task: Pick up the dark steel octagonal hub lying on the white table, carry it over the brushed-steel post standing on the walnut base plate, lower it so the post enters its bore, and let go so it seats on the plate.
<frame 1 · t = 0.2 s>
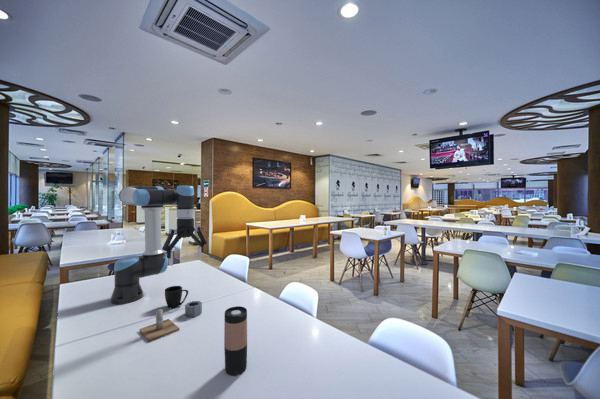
hand: (185, 262, 120), 27 cm above the table, fingers open, 13 cm apart
shaft stand: (159, 330, 109), on the table
hub: (193, 314, 125), on the table
mug: (177, 306, 133), on the table
travel mug: (236, 369, 86), on the table
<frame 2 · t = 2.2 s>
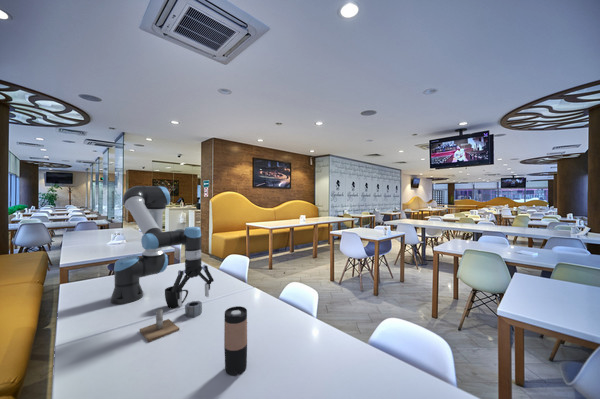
hand: (193, 300, 124), 7 cm above the table, fingers open, 13 cm apart
nothing on the table moved.
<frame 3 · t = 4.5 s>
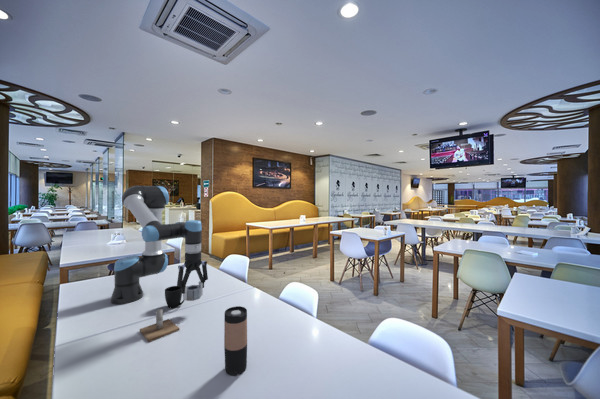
hand: (192, 296, 125), 8 cm above the table, fingers closed on hub, 7 cm apart
hub: (192, 297, 125), point 8 cm above the table, touching gripper
everything else where it was.
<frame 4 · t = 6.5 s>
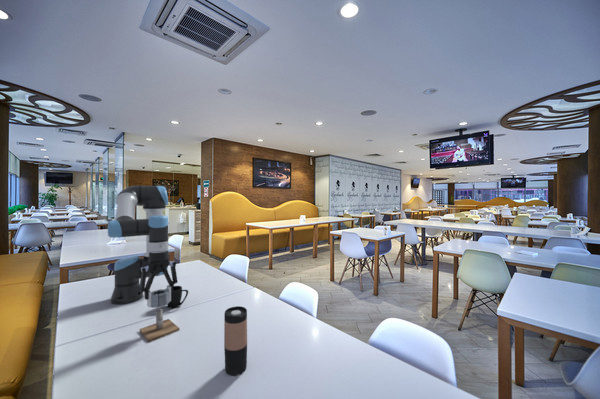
hand: (159, 303, 109), 12 cm above the table, fingers closed on hub, 7 cm apart
hub: (159, 303, 109), point 12 cm above the table, touching gripper
everything else where it was.
when the fingers open (3 cm above the table, at t = 8.5 s): hub drops 2 cm, resting on shaft stand.
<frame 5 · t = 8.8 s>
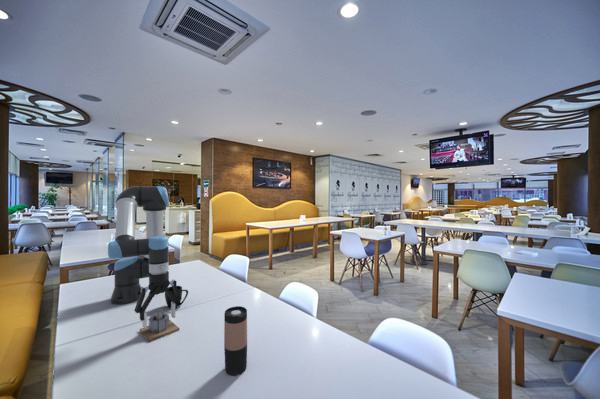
hand: (159, 321, 109), 4 cm above the table, fingers open, 11 cm apart
hub: (159, 328, 109), point 1 cm above the table, touching shaft stand
everything else where it was.
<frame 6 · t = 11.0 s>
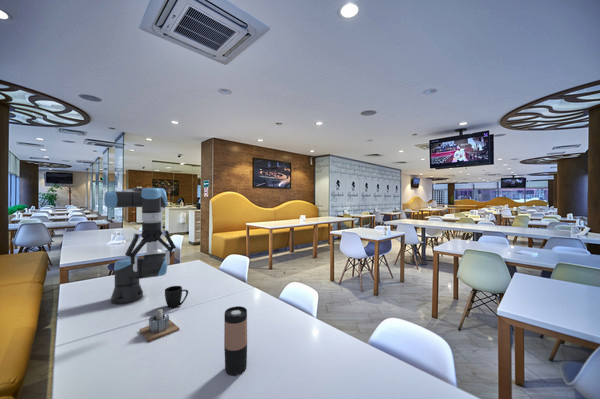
hand: (152, 267, 115), 26 cm above the table, fingers open, 13 cm apart
nothing on the table moved.
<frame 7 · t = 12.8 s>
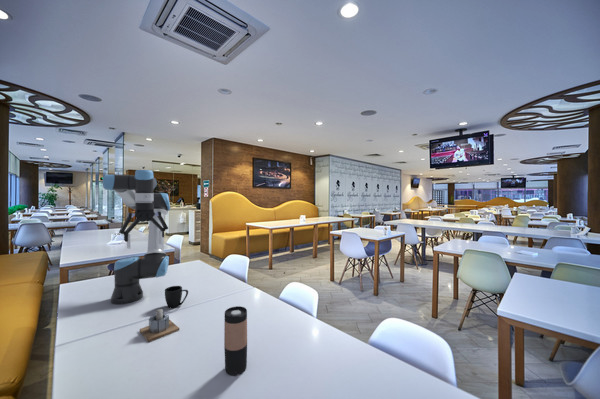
hand: (145, 246, 121), 35 cm above the table, fingers open, 13 cm apart
nothing on the table moved.
at the end: hub 0.2 cm off-centre on the shaft stand, point 1.0 cm above the shaft stand's base; hub tilted 0°; the gripper is holding nothing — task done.
